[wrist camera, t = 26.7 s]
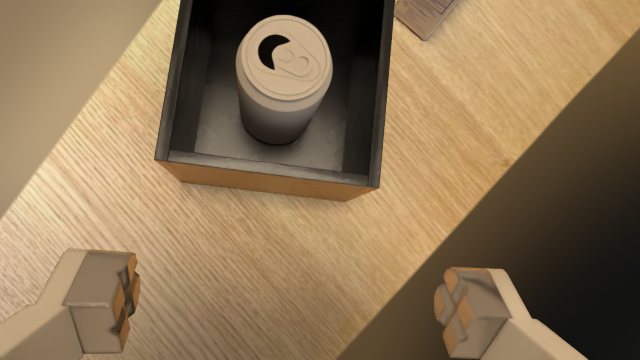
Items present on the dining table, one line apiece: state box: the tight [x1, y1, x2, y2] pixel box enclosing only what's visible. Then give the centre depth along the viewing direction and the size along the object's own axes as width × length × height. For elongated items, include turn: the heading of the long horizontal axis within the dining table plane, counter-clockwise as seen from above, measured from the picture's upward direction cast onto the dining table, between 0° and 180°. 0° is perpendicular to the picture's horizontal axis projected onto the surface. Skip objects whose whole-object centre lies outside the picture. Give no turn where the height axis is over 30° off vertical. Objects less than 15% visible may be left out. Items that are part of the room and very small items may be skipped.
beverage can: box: [236, 15, 333, 144], centre depth 33 cm, size 6×6×12 cm
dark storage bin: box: [154, 0, 395, 202], centre depth 34 cm, size 15×15×11 cm
